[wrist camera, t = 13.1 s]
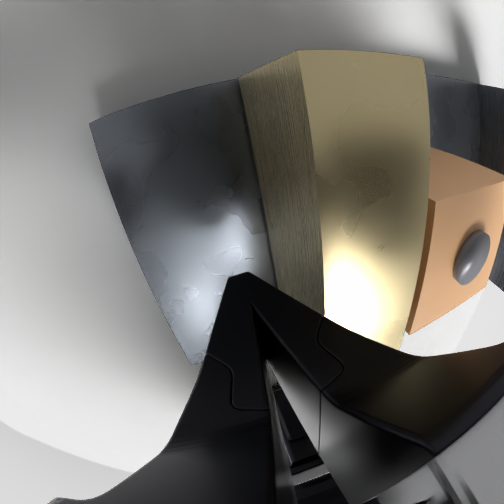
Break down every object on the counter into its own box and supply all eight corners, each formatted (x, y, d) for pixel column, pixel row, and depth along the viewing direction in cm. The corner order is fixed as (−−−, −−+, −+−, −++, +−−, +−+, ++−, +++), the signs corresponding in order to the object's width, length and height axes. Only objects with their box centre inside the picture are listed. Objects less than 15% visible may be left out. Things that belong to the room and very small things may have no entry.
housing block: (420, 236, 13) (489, 290, 9) (345, 263, 13) (413, 340, 8) (425, 145, 11) (517, 181, 6) (340, 157, 10) (443, 206, 6)
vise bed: (471, 239, 17) (528, 282, 12) (188, 344, 15) (205, 452, 9) (481, 86, 11) (560, 107, 5) (100, 121, 9) (6, 144, 3)
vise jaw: (339, 322, 14) (384, 390, 10) (286, 341, 14) (323, 418, 10) (322, 69, 8) (423, 58, 4) (238, 78, 8) (296, 50, 4)
